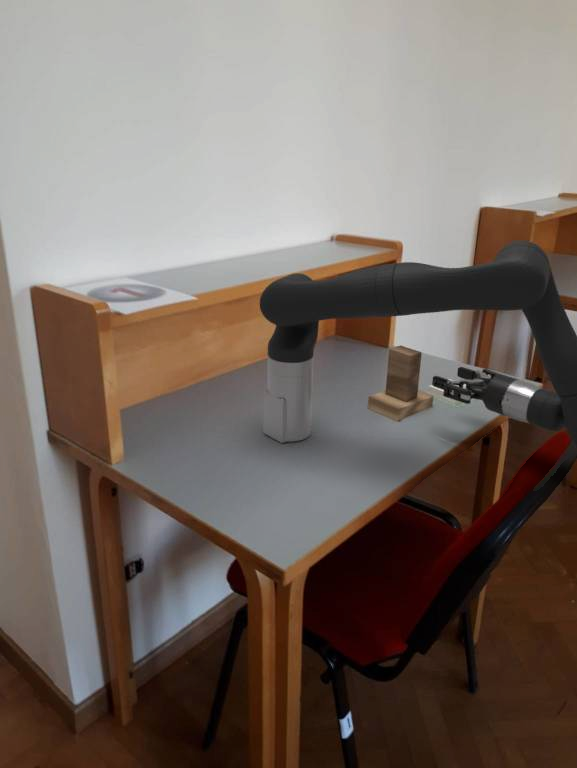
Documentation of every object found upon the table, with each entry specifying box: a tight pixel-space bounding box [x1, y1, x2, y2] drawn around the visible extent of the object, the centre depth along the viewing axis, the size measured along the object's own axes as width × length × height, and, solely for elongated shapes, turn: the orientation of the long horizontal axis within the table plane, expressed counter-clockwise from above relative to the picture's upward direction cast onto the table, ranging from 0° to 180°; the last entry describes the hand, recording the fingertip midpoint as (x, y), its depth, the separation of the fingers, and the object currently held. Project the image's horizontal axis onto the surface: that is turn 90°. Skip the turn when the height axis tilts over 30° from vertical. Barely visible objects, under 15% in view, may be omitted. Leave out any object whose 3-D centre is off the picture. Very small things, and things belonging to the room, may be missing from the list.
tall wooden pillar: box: [385, 345, 423, 402], centre depth 144 cm, size 4×6×11 cm, turn 40°
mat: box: [426, 391, 476, 408], centre depth 153 cm, size 9×10×1 cm
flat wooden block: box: [367, 389, 434, 422], centre depth 146 cm, size 12×9×3 cm
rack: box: [426, 378, 466, 406], centre depth 153 cm, size 8×8×2 cm
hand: (446, 375), depth 135 cm, fingers open, 8 cm apart
